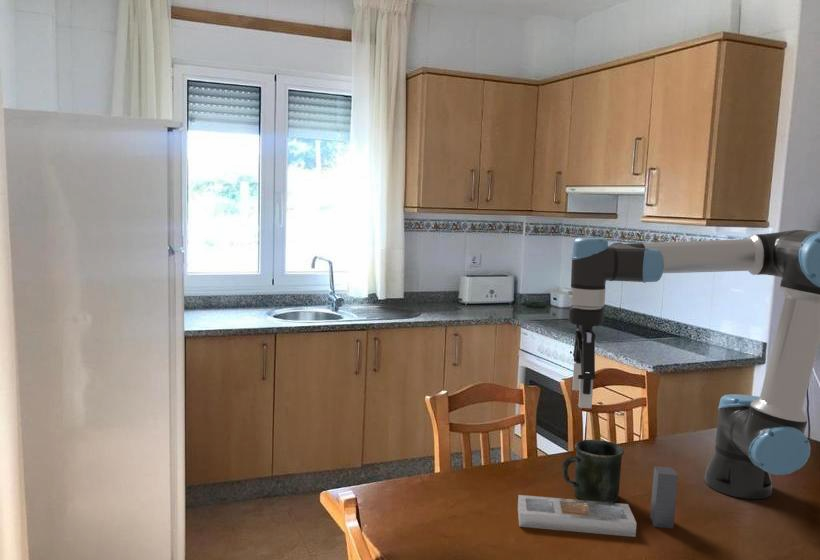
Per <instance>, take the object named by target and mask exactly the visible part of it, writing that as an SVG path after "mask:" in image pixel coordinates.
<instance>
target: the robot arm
mask: <svg viewBox="0 0 820 560" xmlns="http://www.w3.org/2000/svg"><path fill="white" fill-rule="evenodd" d="M719 272H720V273H721V272H725V273H726V272H749V273H750V274H751V275H752V276H756V275H758V276H759V275H760V276H761V275H762V276H763V275H767V276H774V277H779V278H781V280H780V285H779V288H780V290H781V292H783V294H784V300H783V304H782V308H781V313H780V317H779V319H778V320H779V321H778V324H777V328H776V332H775V337H774V340H773V344H772V347H771V352H770V355H769V360H768V364H767V366H766V367H767V368H766V372H765V376H764V379H763V383H762V388H761V392H760V396H757V395H749V394H736V393H732V394H731V393H730V394H724V395H723V396H721V397H720V400H719V404H718V407H717V409H718V412H717V421H716V422H717V424H716V432H715V433H716V434H715V445H714V447H715V448H714V452H713V455H712V456H711V459H710V461H709V463H708V465H707V467H706V469H705V472H704V483H706V485H707V486H708V487H710V489H713V490H714V491H717V492H719V493H721V494H725V495H727V496H731V497H734V498H739V499H745V500H760V499H761V500H762V499H767V498H769V497H770V496H771V495H772V492H773V482H772V477H771V475H775V476H786V475H790V474H792V473H795V472H796V471H798V470H800V469H802V468H803V467H804V466H805V464H806V463H807V462H808V460H809V458H810V455H811V443H810V440H809V439H808V437H807V435H806V434H805V431H806V428H807V423H808V416H807V415H806V414H805V412H804V411H803V406H804V405H805V404H804V403H805V399H806V396H807V392H808V387H809V384H810V380H811V375H812V373H813V369H814V366H815V365H814V364H815V361H816V357H817V354H818V351H819V346H820V231H815V230H804V229H792V230H786V231H777V232H770V233H760V234H759V233H757V234H751V235H750V236H748V237H747V238H746V239H745V238H743V239H740V238H739V239H717V240H716V239H713V240H687V241H685V240H684V241H659V242H637V243H636V242H633V243H632V242H631V243H624V242H623V243H622V242H614V243H613V242H612V243H609V241H608V239H607V238H604V237H585V236H584V237H577V238H576V239H574V241H573V247H572V254H571V274H570V276H571V277H570V290H569V291H567V296H569V297H570V298H569V303H570V305H571V306H570V307H569V308H568V309H569V311H568V322H569V323H570V324H571V325H574V326H576V329H575V332H574V334H575V335H574V336H575V337H574V338H575V339H574V346H573V354H572V356H573V370H572V372H573V374H572V391H577V392H578V391H579V392H578V408H580V409H592V406H593V394H594V393H593V389H594V379H595V378H596V366H595V365H596V362H595V360H596V359H595V358H596V357H595V355H596V347H595V344H596V342H595V341H596V333H594V331H593V327H599V326H603V324H604V317H605V315H604V313H605V310H604V308H603V307H604V306H605V301H606V283H607V282H614V281H615V282H631V283H632V282H636V283H644V284H645V283H655V282H656V283H657V282H659V281H660V280H661V278H662V276H663V274H684V273H685V274H687V273H688V274H689V273H719Z"/></svg>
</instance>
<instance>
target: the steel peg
mask: <svg viewBox="0 0 820 560" xmlns="http://www.w3.org/2000/svg"><path fill="white" fill-rule="evenodd" d="M678 477H679V475H678V473H677V471H676V470H675V468H674V467H669V466H668V467H667V466H655V465H654V466H653V477H652V487H651V497H650V498H651V500H650V512H649V513H650V514H649V519H651V520H650V521H652V522H651V523H652V525H653V528H666V529H674V526H675V525H674V524H675V511H676V502H677V501H676V500H677V488H678V481H679V478H678Z"/></svg>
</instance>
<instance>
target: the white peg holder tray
mask: <svg viewBox="0 0 820 560" xmlns="http://www.w3.org/2000/svg"><path fill="white" fill-rule="evenodd" d="M517 496H518V499H517V513H518V514H517V515H518V516H517V517H518V525H519V528H521V527H522V528H531V529H541V530H542V529H545V530H554V531H564V532H565V531H566V532H576V533H577V532H578V533H585V534H586V533H587V534H597V535H598V534H599V535H608V536H609V535H610V536H621V537H631V538H632V537H633V538H636V537H637V524H638V523H637V521H636V518H635V516H634V514H633V512H632V510H631V508H630V506H629V504H628V503H617V502H614V503H608V502H596V501H585V500H581V499H572V498H561V497H560V498H559V497H549V496H537V495H525V494H523V495H522V494H518V495H517Z"/></svg>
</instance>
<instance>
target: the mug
mask: <svg viewBox="0 0 820 560" xmlns="http://www.w3.org/2000/svg"><path fill="white" fill-rule="evenodd" d="M574 449H575V451H576V452H575V456H570V457H566V458H565V460H564V461H563V462H562V465H561V466H562V467H561V469H562V476H563V478H564V480H565V481H566V483H567V484H568V485H570V486H572V487H573V493H574V495H575V497H576V498H577V499H578V500H585V501H596V502H608V503H616V501H618V499H619V494H620V481H621V472H622V471H621V470H622V469H621V468H622V458H623V455H624V453H625V450H624V448H623V447H622V446H621V445H619V444H616V443H615V442H610V441H607V440H602V439H583V440H579V441H577V442H576V443H575V444H574ZM572 463H575V464H574V465H575V467H574V481H573V480H571V479H570V477H569V472H568V470H569V466H570V464H572Z"/></svg>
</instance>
